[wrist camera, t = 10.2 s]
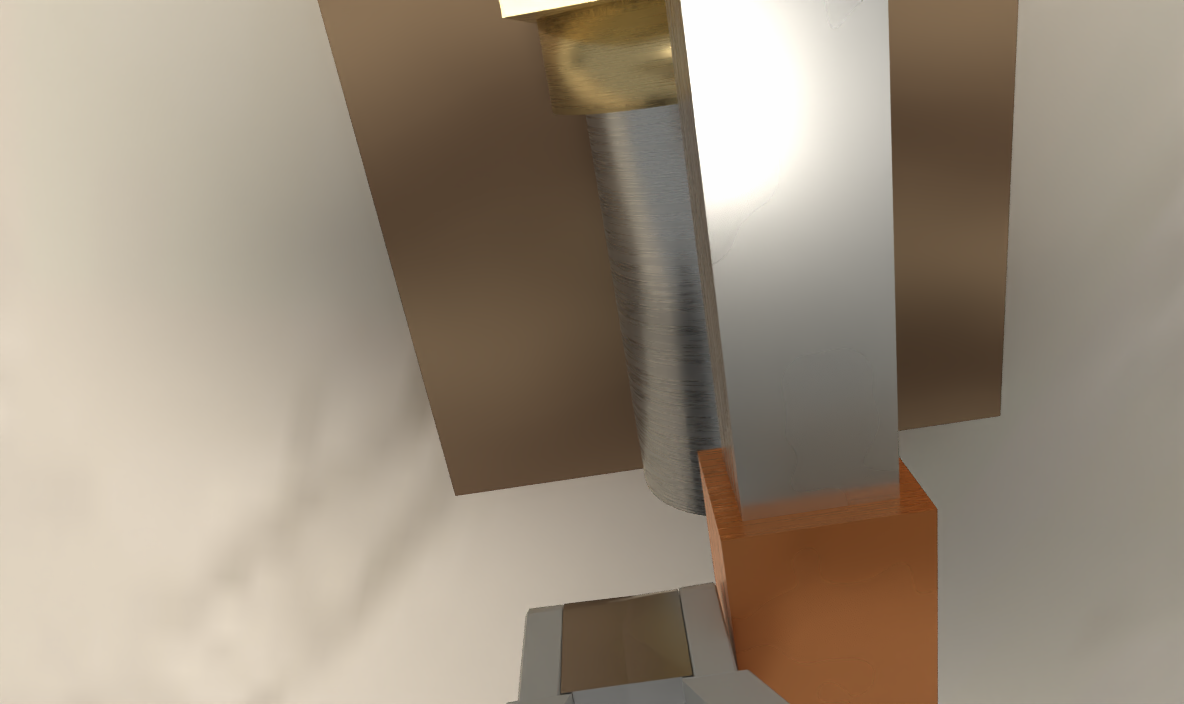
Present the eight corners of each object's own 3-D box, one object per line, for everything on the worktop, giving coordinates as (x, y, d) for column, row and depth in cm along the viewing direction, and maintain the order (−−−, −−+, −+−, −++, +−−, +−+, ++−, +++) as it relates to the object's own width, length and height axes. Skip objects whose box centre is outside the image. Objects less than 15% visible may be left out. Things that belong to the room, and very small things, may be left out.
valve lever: (498, -625, 6) (463, -894, 5) (881, -720, 6) (1005, -1037, 4) (716, 764, 13) (738, 887, 11) (910, 739, 13) (967, 862, 11)
